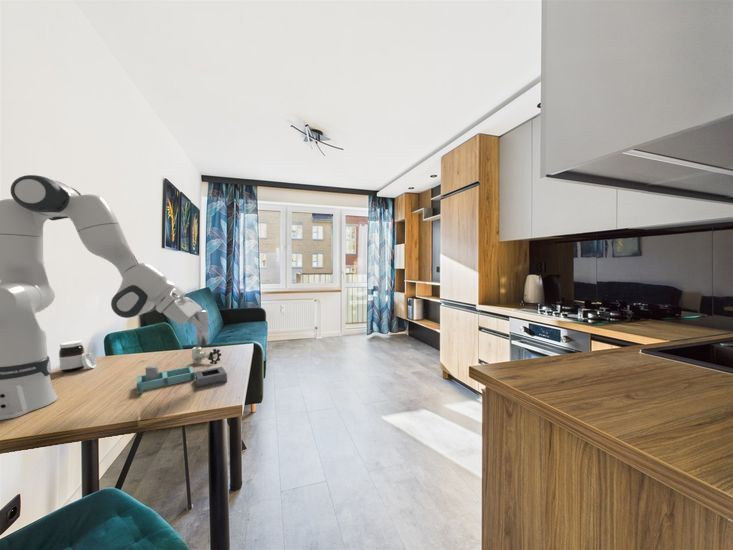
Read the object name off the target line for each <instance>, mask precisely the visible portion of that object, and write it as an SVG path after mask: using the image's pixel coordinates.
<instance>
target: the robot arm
mask: <svg viewBox="0 0 733 550" xmlns="http://www.w3.org/2000/svg"><path fill="white" fill-rule="evenodd" d="M10 195H11V198H6V199H5V198H4V199H1V200H0V421H1V420H7V419H14V418H18V417H21V416H23V415H25V414H28V413H30V412H33V411H35V410H36V411H37V410H38V409H42V408H43V407H46V406H48V405H50V404H53V403H54V402H56V401H57V400H58V395H57V393H56V392H55V389H54V387H53V384H52V380H51V372H52V371H51V370H52V367H51V360H50V356H48V347H47V334H46V331H45V330H43V329H42V328H41V326H40V324H39V322H38V320H37V317H36V313H40V312H42V311H44V310H45V309H46V308H48V307H49V306H51V305H52V303H53V302H54V300H55V297H56V295H55V294H56V293H55V290H54V289H53V288H52V286H51V285H50V283H49V282H50V281H49V279H48V275H47V272H46V268H45V267H46V266H45V262H44V224H45V222H46V221H47V220H50V221H57V220H63V219H69V220H70V221H71V222H72V224H73V226H74V228H75V230H76V232H77V234H78V237H79V238H80V241H81V243H82V244H83V245H84V247H85V248H86V249H87V251H89V253H91V254H93V255H95V256H97V257H99V258H102V259H104V260H105V261H108V262H109V263H111V264H112V265H113V266H115V268H116V269H117V270H118V272H119V274H120V276H121V278H122V281H121V284H120V286H119V289H118V290H117V291H116V293H115V295H114V296H113V297H112V298H111V301H110V307H111V309H112V311H113V312H114V314H115V315H116V316H118V317H121V318H124V319H125V318H126V319H130V318H135V317H137V316H141V315H143V314H147V313H151V312H153V311H157V312H158V313H160V314H162V313H163V314H164V316H166V317H167V318H168V319H170V320H171V321H173V322H174V323H175V324H177V325H179V326H183V325H184V324H186V323H189V324H190V325H192V326H195V328H196V327H198V328H199V329H200V328H201V327H202V326H203V325H204V324H203V323H202V322H201V321H198V320H197V319H195V314H196V313H195V311H199V310H203V307H202V306H201V305H200V304H198V303H197V302H196V301H194V300H193V298H190V297H188V296H186V294H187V293H186V292H185V291H184V290H183V289H182V288H180V287H179V286H178V285H176V283H174V282H172V281H170V280H168V278H167V277H166V276H165V275H164V274H163V273H162V272H161V271H160V270H158V269H157V268H155V267H153V266H152V265H150V264H148V263H144V262H143V263H139V261H138V260H137V258H136V256H135V255H134V253H133V251H132V249H131V247H130V245H129V243H128V241H127V239H126V236H125V234H124V232H123V229H122V227H121V225H120V223H119V221H118V218H117V217H116V215H115V213H114V212H113V210H112V208H111V206H110V205H109V204H108V203H107V201H106V200H105V199H104V198H103V197H101V196H100V195H95V194H88V193H87V194H82V193H80V192H79V191H78V190H76V189H74V188H73V187H71V186H68V185H66V184H65V183H62V182H60V181H57V180H54V179H50V178H48V177H46V176H42V175H34V174H32V175H31V174H27V175H23V176H20V177H17V178H16V179H15V180H14V181H13V182H12V183H11V186H10Z"/></svg>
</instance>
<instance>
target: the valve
mask: <svg viewBox="0 0 733 550" xmlns="http://www.w3.org/2000/svg"><path fill="white" fill-rule="evenodd" d="M202 350H203V347H201V346H195V347H193V348H191V352H192V354H191V358H192V364H193V363H195V364H194V365H198V364H197V363H199V364H202V363H203V360H205V359H208V361H209V364H210V365H217V364H218V362H221V358H220V357H221V356H222V353H220V352H221V350H220V349H217V348H213V349H212V351H210V352H209V353H207V352H203V351H202ZM201 362H202V363H201Z"/></svg>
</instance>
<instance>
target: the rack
mask: <svg viewBox="0 0 733 550" xmlns="http://www.w3.org/2000/svg"><path fill="white" fill-rule="evenodd" d="M195 372H196V371H195V369H194V367H193V365H192V366H190V365H189V366H185V367H180V368H175V369H174V368H173V369H169V370H164V371H159V366H158V365H150V366H147V367H145V374H144V375H143V374H142V375H138V376H137V379H136V394H137V395H140V394H139V393H141V394H143V391H145V390H151V389H155V388H156V389H157V388H160V387H164V386H166V387H167V386H170V385H175V384H180V383H184V382H188V381H189V382H190V381H195Z"/></svg>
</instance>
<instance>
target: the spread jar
mask: <svg viewBox="0 0 733 550" xmlns="http://www.w3.org/2000/svg"><path fill="white" fill-rule="evenodd" d="M59 348H60V349H59V351H58V357H59V359H58V360H59V369H60V370H59V371H60V373H62V372H63V374H64V373H65V374H66V373H67V372H68V373H73V372H74V371H75V372H77V371H78V370H79V371H82V370H83V369H87V370H92V369H95V367H97V359H96V357H95V355H94V354H93V353H92V352H86V353H85V348H84V346H83V340H70V341H65V342H61V343H60V344H59ZM91 368H92V369H91ZM81 369H82V370H81Z"/></svg>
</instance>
